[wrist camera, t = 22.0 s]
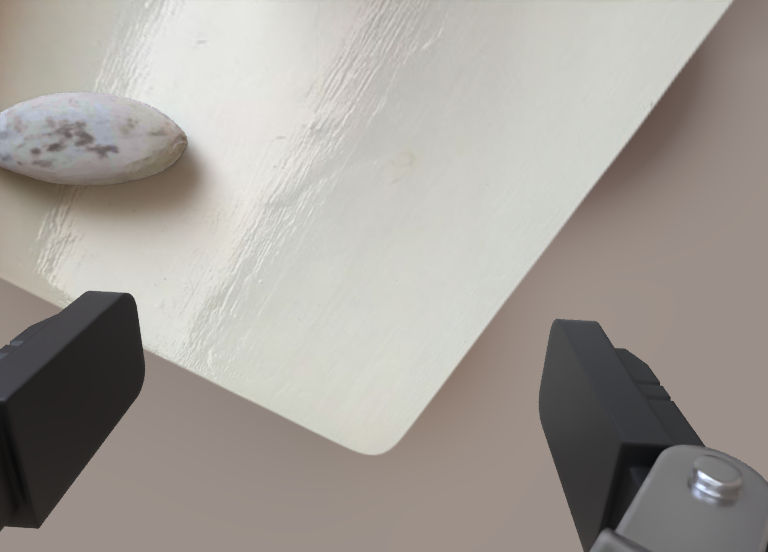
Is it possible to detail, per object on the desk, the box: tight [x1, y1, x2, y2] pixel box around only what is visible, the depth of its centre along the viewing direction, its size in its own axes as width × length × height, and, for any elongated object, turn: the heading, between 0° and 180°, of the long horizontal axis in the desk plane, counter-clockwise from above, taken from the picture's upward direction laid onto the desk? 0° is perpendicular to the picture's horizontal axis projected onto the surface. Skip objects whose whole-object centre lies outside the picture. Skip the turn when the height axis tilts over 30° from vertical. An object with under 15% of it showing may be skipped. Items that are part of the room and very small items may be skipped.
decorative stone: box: [0, 92, 187, 186], centre depth 38 cm, size 6×16×3 cm, turn 94°
